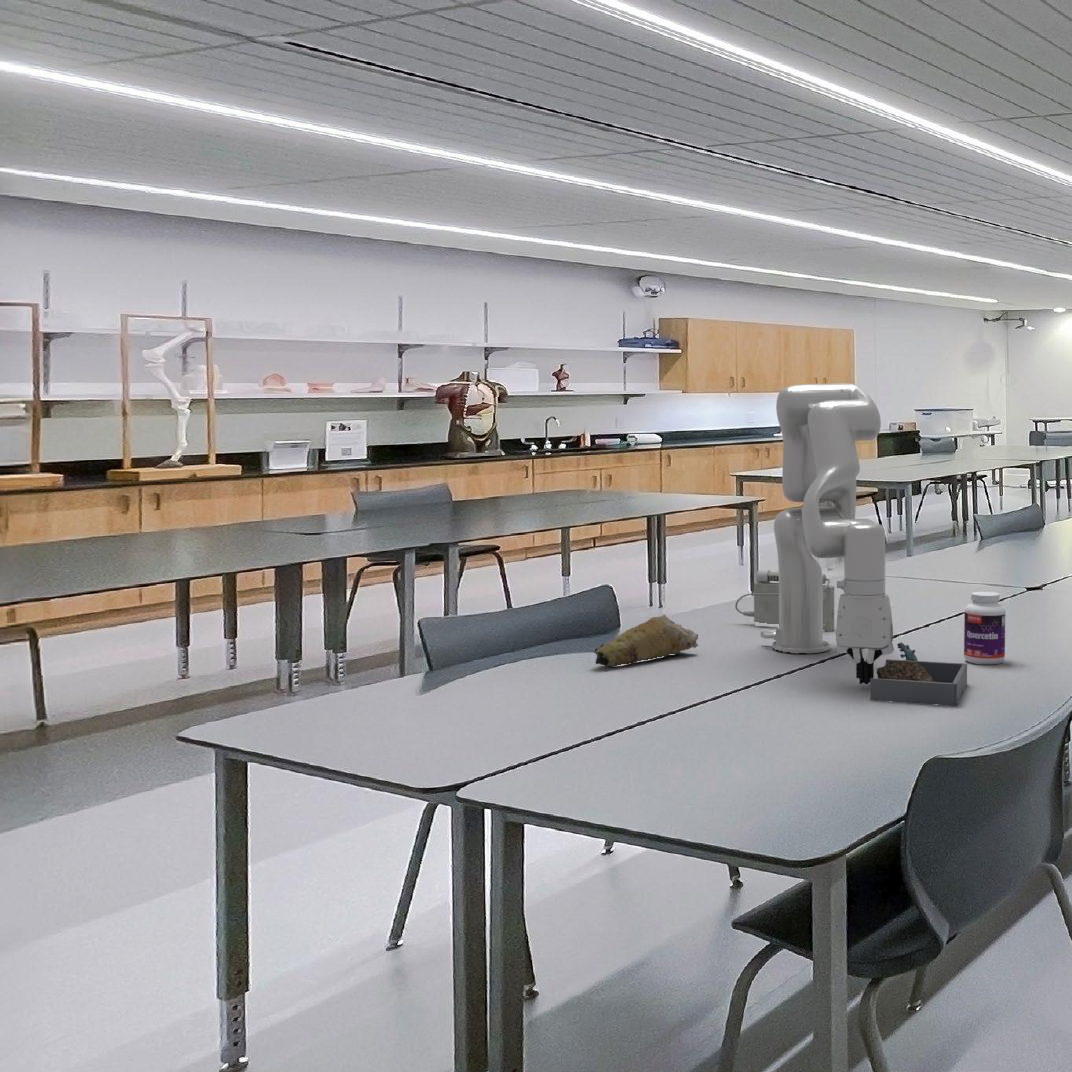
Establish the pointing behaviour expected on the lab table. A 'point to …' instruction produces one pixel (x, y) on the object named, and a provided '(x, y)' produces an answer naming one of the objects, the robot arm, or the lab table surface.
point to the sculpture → (907, 652)
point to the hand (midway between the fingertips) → (864, 682)
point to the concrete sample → (904, 671)
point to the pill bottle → (984, 629)
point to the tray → (924, 685)
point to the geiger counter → (769, 600)
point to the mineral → (646, 642)
